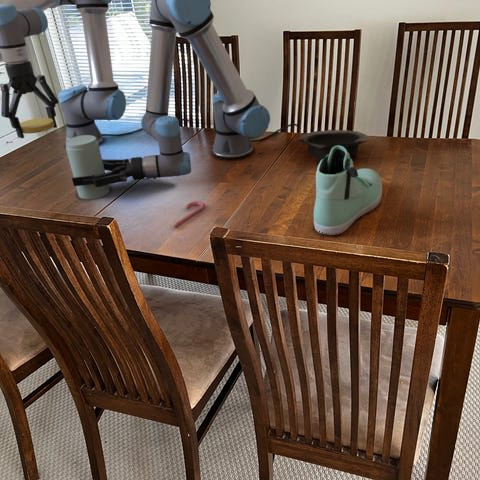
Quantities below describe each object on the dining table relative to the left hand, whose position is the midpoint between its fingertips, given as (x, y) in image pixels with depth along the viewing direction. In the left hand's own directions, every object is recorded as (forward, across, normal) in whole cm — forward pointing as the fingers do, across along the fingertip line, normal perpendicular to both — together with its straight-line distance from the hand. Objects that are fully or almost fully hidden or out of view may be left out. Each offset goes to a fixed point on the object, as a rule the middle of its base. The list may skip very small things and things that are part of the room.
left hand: (37, 132), depth 156 cm
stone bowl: (+20, +73, -67) cm, 101 cm away
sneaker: (+20, +41, -92) cm, 102 cm away
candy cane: (+20, +11, -55) cm, 60 cm away
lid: (-3, 0, 0) cm, 3 cm away
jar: (+20, +6, -16) cm, 26 cm away
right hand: (+13, +2, -13) cm, 19 cm away
